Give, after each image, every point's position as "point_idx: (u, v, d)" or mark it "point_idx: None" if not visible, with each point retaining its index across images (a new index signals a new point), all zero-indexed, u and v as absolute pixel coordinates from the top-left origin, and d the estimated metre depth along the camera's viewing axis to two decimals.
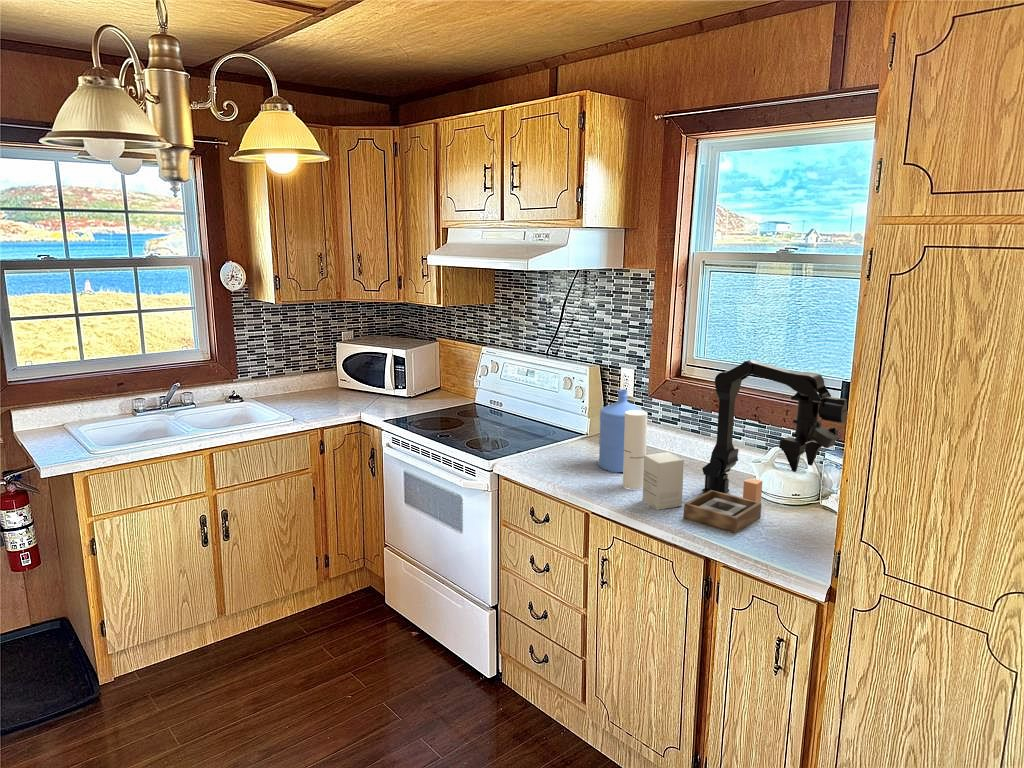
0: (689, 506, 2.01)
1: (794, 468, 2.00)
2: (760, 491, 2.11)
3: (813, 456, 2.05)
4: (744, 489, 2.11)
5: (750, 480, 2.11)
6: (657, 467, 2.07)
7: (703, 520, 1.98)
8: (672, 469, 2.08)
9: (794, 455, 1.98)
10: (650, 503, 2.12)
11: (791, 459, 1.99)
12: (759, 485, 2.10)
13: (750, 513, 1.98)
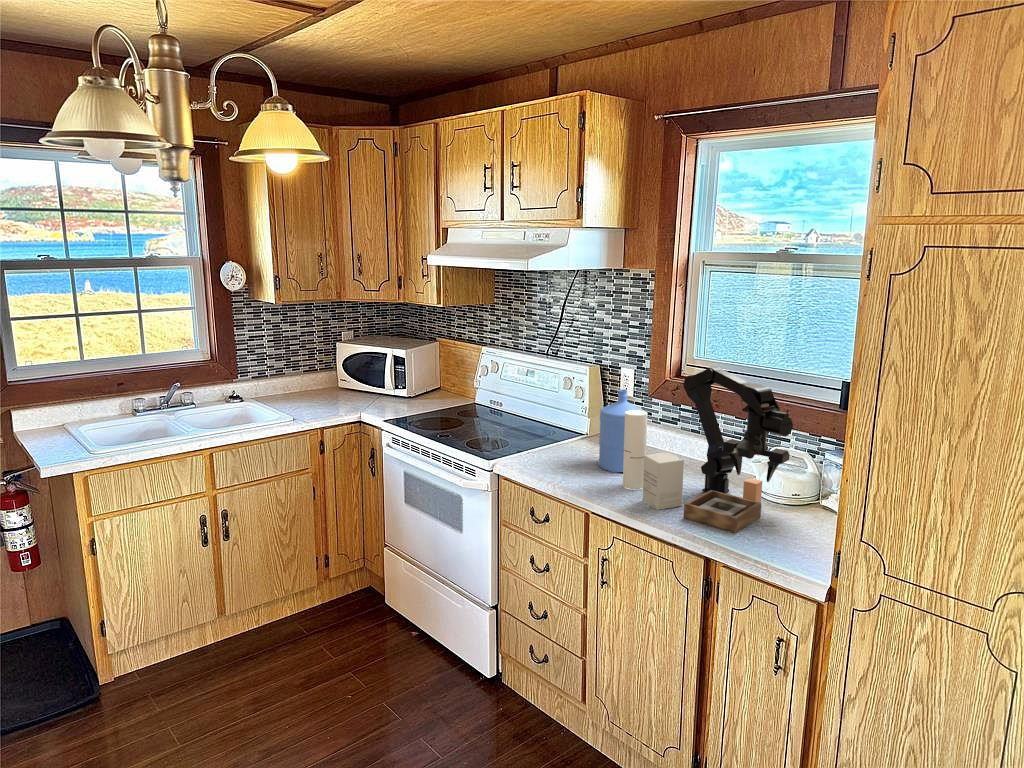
0: (689, 506, 2.01)
1: None
2: (760, 491, 2.11)
3: None
4: (744, 489, 2.11)
5: (750, 480, 2.11)
6: (657, 467, 2.07)
7: (703, 520, 1.98)
8: (672, 469, 2.08)
9: None
10: (650, 503, 2.12)
11: None
12: (759, 485, 2.10)
13: (750, 513, 1.98)
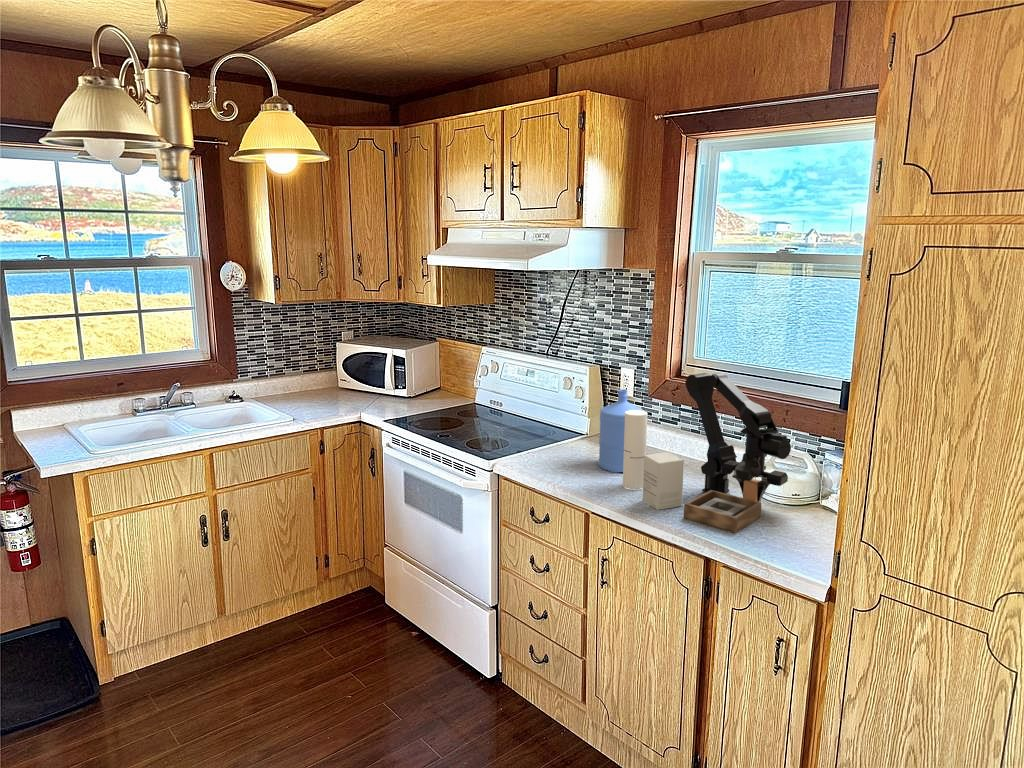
0: (689, 506, 2.01)
1: None
2: None
3: None
4: (744, 489, 2.11)
5: (750, 480, 2.11)
6: (657, 467, 2.07)
7: (703, 520, 1.98)
8: (672, 469, 2.08)
9: None
10: (650, 503, 2.12)
11: None
12: None
13: (750, 513, 1.98)
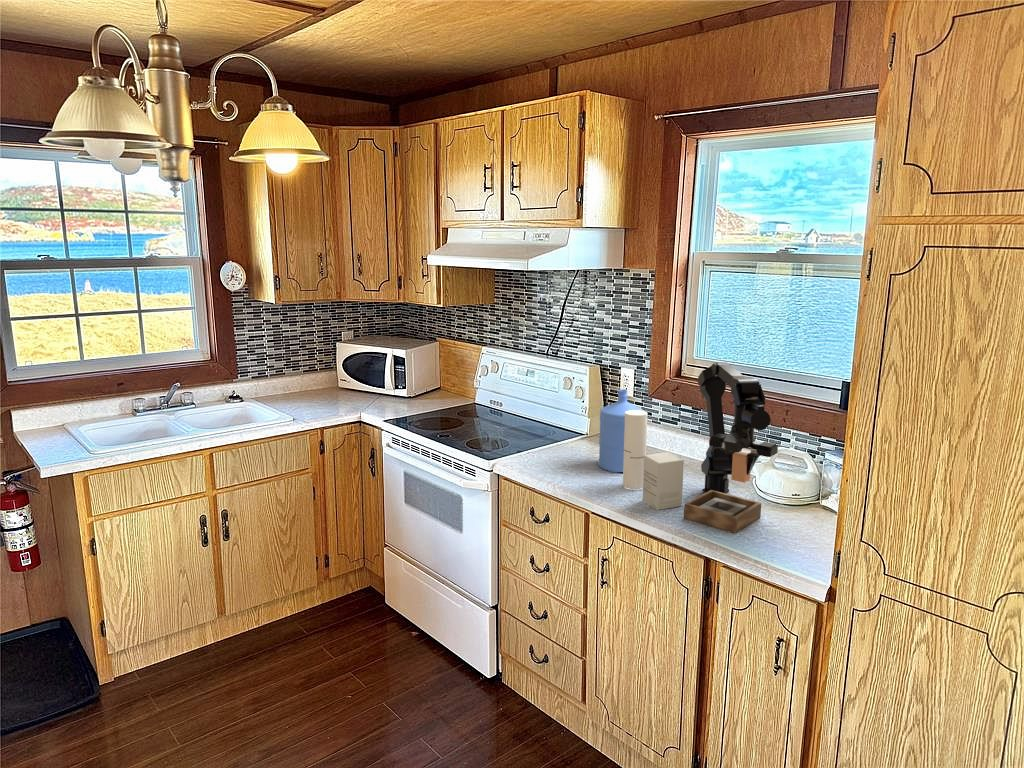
0: (689, 506, 2.01)
1: None
2: None
3: None
4: (733, 462, 2.04)
5: (739, 453, 2.04)
6: (657, 467, 2.07)
7: (703, 520, 1.98)
8: (672, 469, 2.08)
9: None
10: (650, 503, 2.12)
11: None
12: None
13: (750, 513, 1.98)
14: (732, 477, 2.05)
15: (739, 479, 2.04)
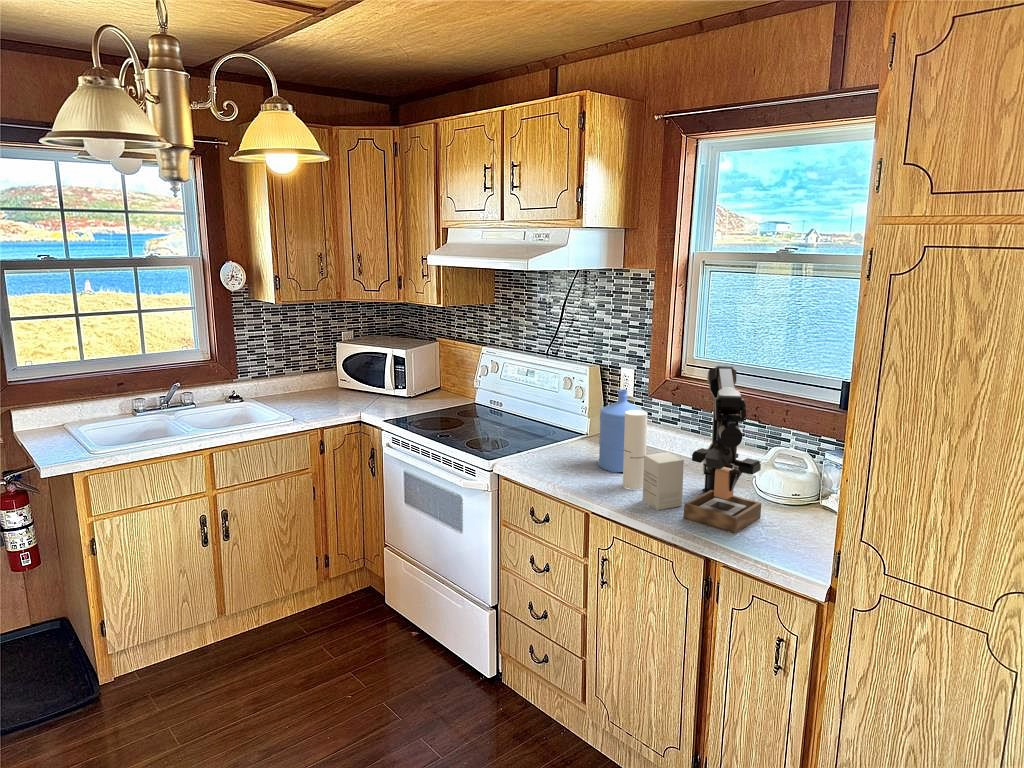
0: (689, 506, 2.01)
1: None
2: None
3: None
4: (715, 478, 2.00)
5: (722, 469, 2.00)
6: (657, 467, 2.07)
7: (703, 520, 1.98)
8: (672, 469, 2.08)
9: None
10: (650, 503, 2.12)
11: None
12: None
13: (750, 513, 1.98)
14: (714, 493, 2.01)
15: (721, 496, 2.00)
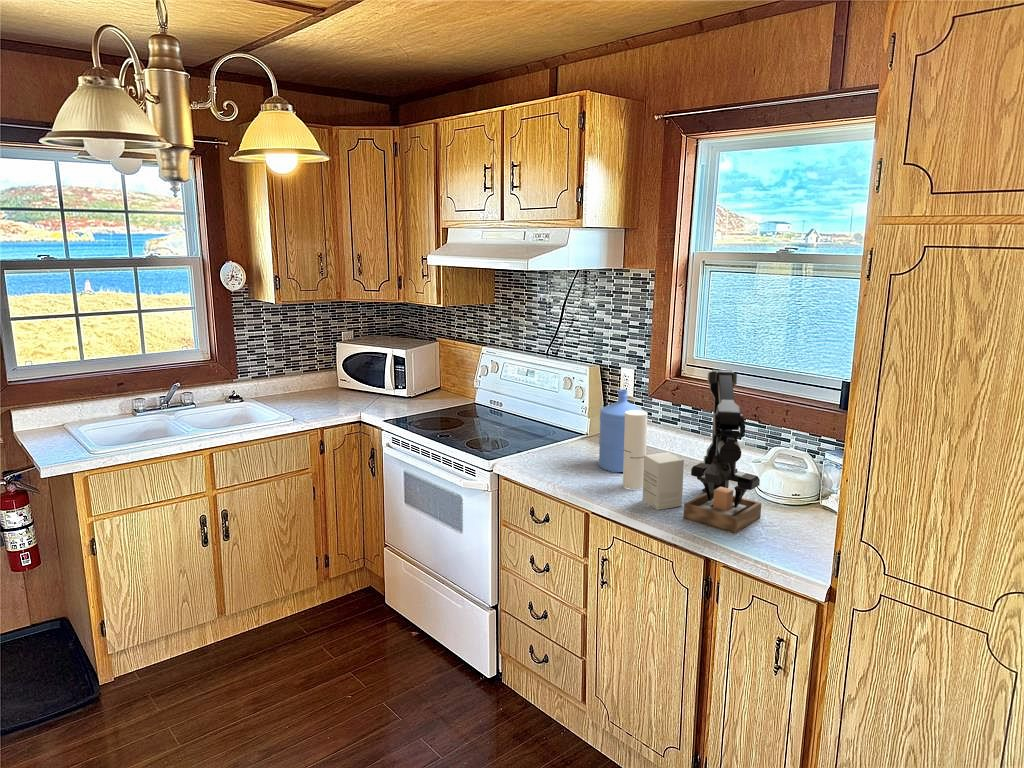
0: (689, 506, 2.01)
1: None
2: (731, 500, 2.01)
3: None
4: (714, 498, 2.01)
5: (720, 489, 2.01)
6: (657, 467, 2.07)
7: (703, 520, 1.98)
8: (672, 469, 2.08)
9: None
10: (650, 503, 2.12)
11: None
12: (730, 494, 2.00)
13: (750, 513, 1.98)
14: None
15: None
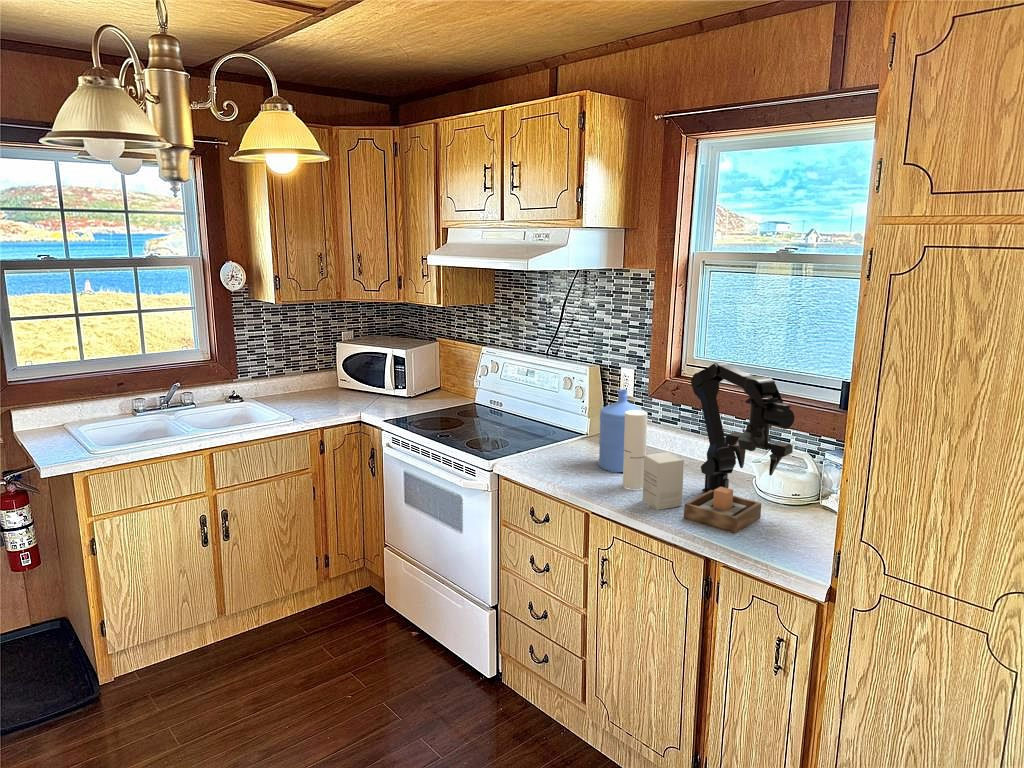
0: (689, 506, 2.01)
1: None
2: (731, 500, 2.01)
3: None
4: (714, 498, 2.01)
5: (720, 489, 2.01)
6: (657, 467, 2.07)
7: (703, 520, 1.98)
8: (672, 469, 2.08)
9: None
10: (650, 503, 2.12)
11: None
12: (730, 494, 2.00)
13: (750, 513, 1.98)
14: None
15: None
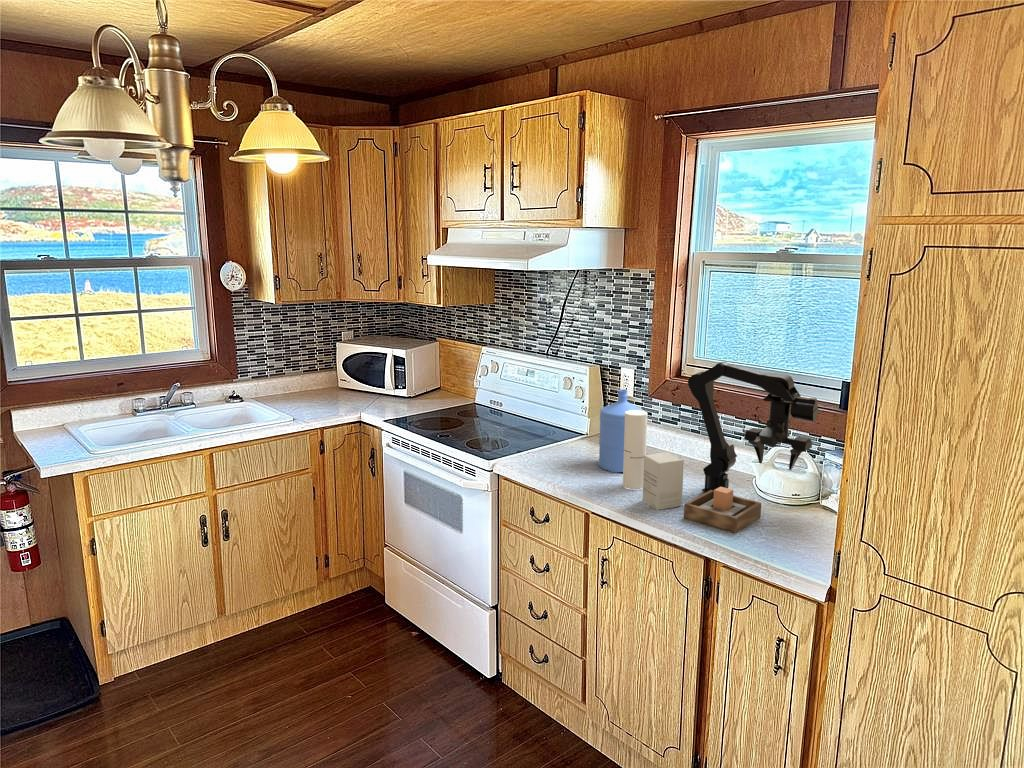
0: (689, 506, 2.01)
1: None
2: (731, 500, 2.01)
3: (790, 461, 2.07)
4: (714, 498, 2.01)
5: (720, 489, 2.01)
6: (657, 467, 2.07)
7: (703, 520, 1.98)
8: (672, 469, 2.08)
9: None
10: (650, 503, 2.12)
11: None
12: (730, 494, 2.00)
13: (750, 513, 1.98)
14: None
15: None
